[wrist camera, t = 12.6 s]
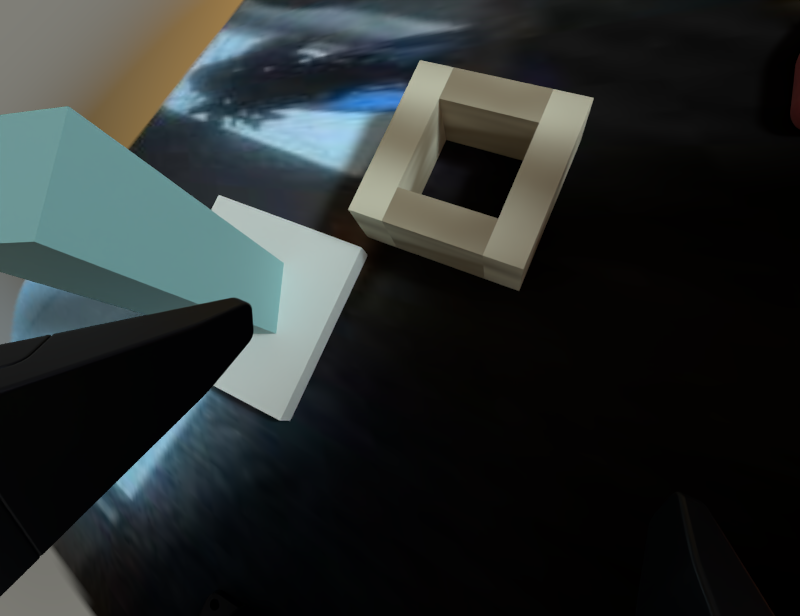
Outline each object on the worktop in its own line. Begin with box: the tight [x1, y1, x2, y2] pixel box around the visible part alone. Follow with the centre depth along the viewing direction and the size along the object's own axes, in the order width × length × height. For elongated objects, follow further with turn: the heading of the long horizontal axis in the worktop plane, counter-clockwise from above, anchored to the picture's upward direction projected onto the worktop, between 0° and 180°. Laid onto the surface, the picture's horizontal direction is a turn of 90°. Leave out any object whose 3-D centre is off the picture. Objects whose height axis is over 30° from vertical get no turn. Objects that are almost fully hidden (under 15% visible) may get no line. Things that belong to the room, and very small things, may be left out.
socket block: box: [348, 60, 594, 291], centre depth 23 cm, size 9×9×4 cm
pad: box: [211, 195, 368, 421], centre depth 25 cm, size 10×10×1 cm
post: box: [0, 106, 284, 334], centre depth 18 cm, size 4×4×13 cm
